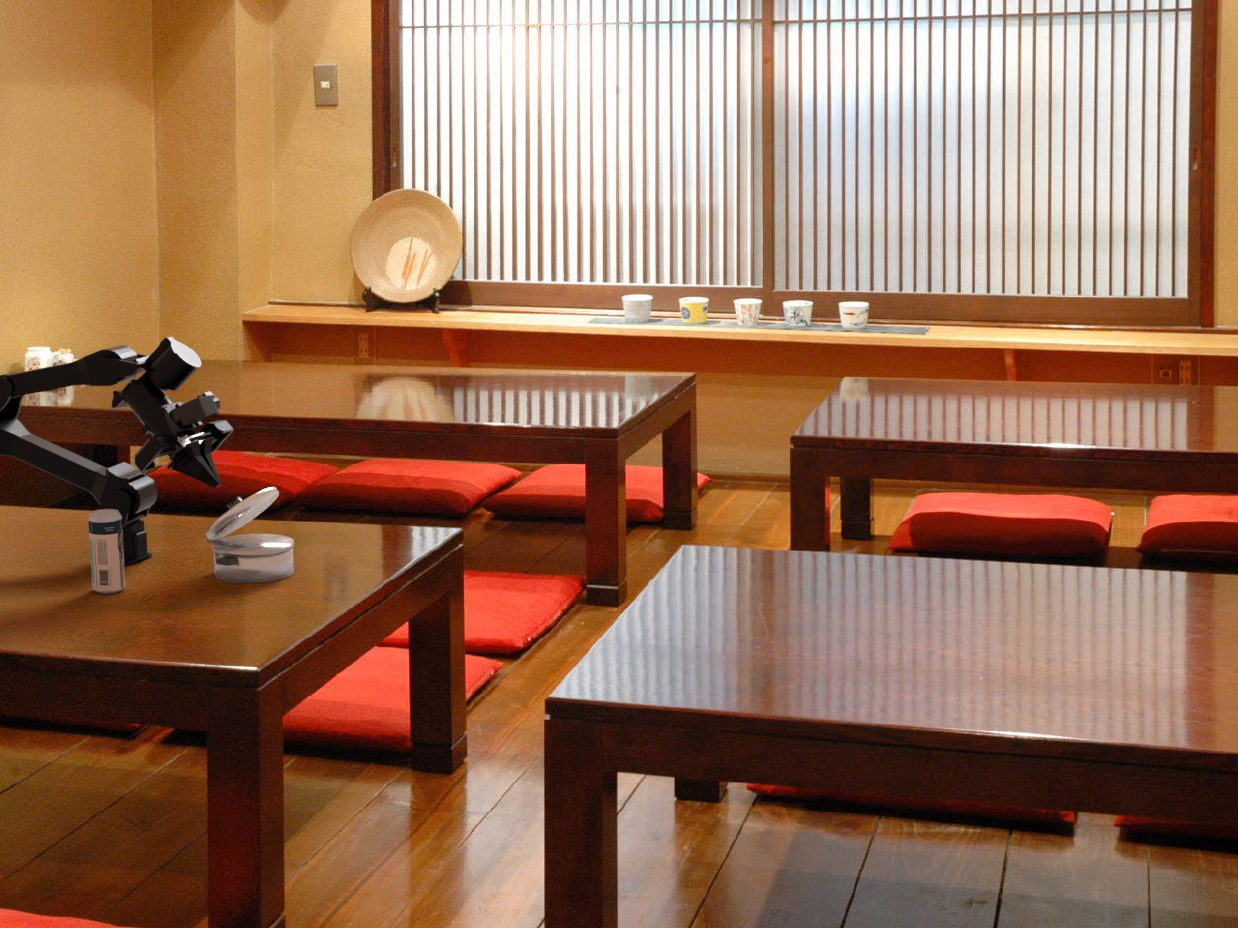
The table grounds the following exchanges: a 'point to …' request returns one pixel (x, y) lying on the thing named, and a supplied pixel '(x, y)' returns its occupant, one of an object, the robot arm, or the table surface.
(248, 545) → the cooker pot
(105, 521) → the beer can
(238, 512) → the cooker lid
